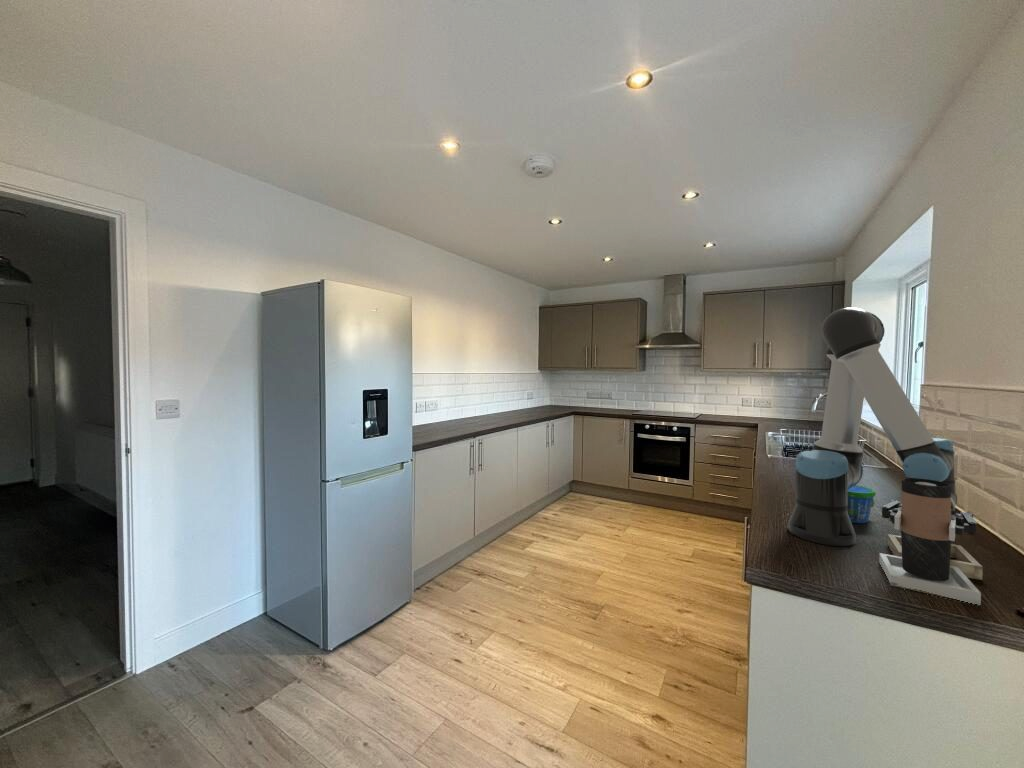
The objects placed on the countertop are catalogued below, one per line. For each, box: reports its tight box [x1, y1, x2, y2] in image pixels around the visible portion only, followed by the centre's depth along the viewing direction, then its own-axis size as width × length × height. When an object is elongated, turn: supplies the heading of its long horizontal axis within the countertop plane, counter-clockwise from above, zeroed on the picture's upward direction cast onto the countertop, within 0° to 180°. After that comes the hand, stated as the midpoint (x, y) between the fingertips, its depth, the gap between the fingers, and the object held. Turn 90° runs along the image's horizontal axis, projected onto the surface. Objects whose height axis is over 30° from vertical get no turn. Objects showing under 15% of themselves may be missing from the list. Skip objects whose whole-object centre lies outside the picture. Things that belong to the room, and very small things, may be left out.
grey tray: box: [878, 552, 982, 606], centre depth 88 cm, size 13×13×2 cm
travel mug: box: [900, 477, 952, 581], centre depth 88 cm, size 8×8×20 cm
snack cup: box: [847, 484, 877, 524], centre depth 126 cm, size 16×10×10 cm
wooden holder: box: [887, 533, 984, 581], centre depth 98 cm, size 13×13×3 cm
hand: (923, 528), depth 84 cm, fingers closed on travel mug, 7 cm apart
